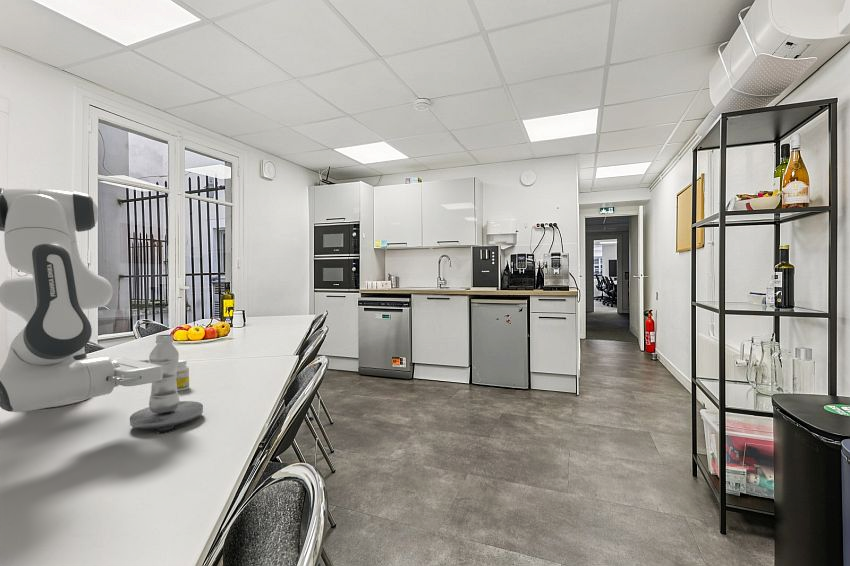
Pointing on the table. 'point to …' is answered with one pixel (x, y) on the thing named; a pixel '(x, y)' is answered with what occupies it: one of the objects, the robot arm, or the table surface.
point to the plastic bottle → (164, 376)
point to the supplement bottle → (182, 375)
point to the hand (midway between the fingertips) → (163, 364)
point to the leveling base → (166, 417)
